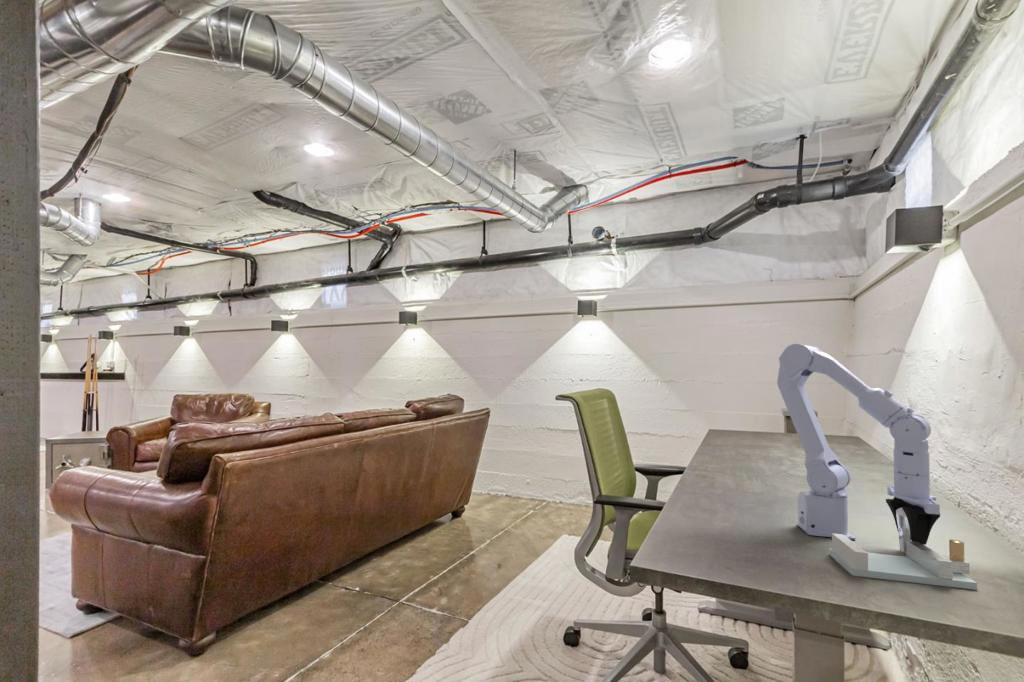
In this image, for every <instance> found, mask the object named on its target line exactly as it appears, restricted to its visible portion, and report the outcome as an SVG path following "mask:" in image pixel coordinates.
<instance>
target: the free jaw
mask: <svg viewBox="0 0 1024 682" xmlns="http://www.w3.org/2000/svg"><path fill="white" fill-rule="evenodd" d="M948 545H949V549H948V550H949V555H946V554H940V553H939V552H936V551H935V550H933V549H931V548H930V547H929V546H926V545H923V544H921V543H919V542H915V541H906V553H907V554H906V557H909V558H910V559H912V560H913V561H915V562H916V563H918V564H919V565H921V566H922V567H924V568H925V569H927V570H928V571H930V572H931V573H933V574H934V575H936V576H937V577H939V578H944V579H953V573H961V574H963V575H970V562H969V561H967V560H965V542H964V541H961V540H957V539H949V541H948Z"/></svg>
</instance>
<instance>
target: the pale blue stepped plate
mask: <svg viewBox="0 0 1024 682" xmlns="http://www.w3.org/2000/svg"><path fill="white" fill-rule="evenodd" d="M828 551H829V554H828V555H829V556H830V557H831V558H833V559H834V560H835V561H836V562H837V563H838V564H839V565H840V566H841V567H842V568H844V569H845V571H847V572H848V573H849V574H850V575H851V576H854V577H863V578H869V579H870V578H873V579H880V580H888V581H889V580H890V581H897V582H907V583H914V584H923V585H924V584H925V585H931V586H932V585H933V586H939V587H947V588H958V589H967V590H975V591H977V590H978V582H977V581H975V580H973V579H971V578H970V577H968V576H966V574H961V573H953V579H944V578H939V577H937V576H936V575H934V574H933V573H931V572H930V571H928V570H927V569H925V568H924V567H922V566H921V565H919V564H918V563H916V562H915V561H913V560H912V559H910V558H909V557H907V556H906V555H905V556H904V555H894V554H883V553H874V552H867V551H866V550H864V549H863V548H862V547H861V546H859V545H858V543H857V544H856V543H855V542H854V541H853V540H852V539H849V538H847V537H846V536H845V535H843V534H834V533H832V537H831V548H828Z"/></svg>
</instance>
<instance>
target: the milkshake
mask: <svg viewBox="0 0 1024 682" xmlns="http://www.w3.org/2000/svg"><path fill="white" fill-rule="evenodd" d="M896 517H897V524H898V530H897V533H898V532H899V533H898V542H899V552H900V553H903V554H905V555H907V553H906V541H912V540H911V535H910V527H909V523H908V519H907V516H906V514H905V512H904V510H903V509H902V507H901V508H899V509H897V510H896Z"/></svg>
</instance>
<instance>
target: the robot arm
mask: <svg viewBox="0 0 1024 682" xmlns="http://www.w3.org/2000/svg"><path fill="white" fill-rule="evenodd" d="M778 363H779V369H778V376H777V379H776V380H777V381H776V382H777V388H778V390H779V391H780V394H781V397H782V400H783V402H784V405H785V407H786V409H787V411H788V414H789V417H790V419H791V421H792V424H793V426H794V429H795V431H796V434H797V436H798V438H799V441H800V444H801V446H802V449H803V451H804V453H805V458H804V459H805V460H804V467H805V469H806V472H807V473H806V482H807V484H808V487H809V489H810V490H808V491H800V492H799V494H798V497H797V522H796V525H797V526H798V527H800V529H802V531H804V533H805V534H807V535H808V536H814V537H815V536H816V537H817V536H818V537H826V538H827V537H828V538H832V533H834V534H843V535H845V536H846V537H847V538H849V539H850V540H857V538H856V536H854V535H853V534H852V533H851V532H849V530H848V529H849V528H848V527H849V526H848V525H849V524H848V523H849V520H848V519H849V518H848V517H849V516H848V513H849V512H848V510H849V509H848V508H849V507H848V500H849V499H848V492H847V491H846V489H845V488H847V487H848V485H849V484H850V482H851V474H850V472H849V470H848V469H847V468H846V467H845V466H844V465H843V464H842V463H841V462H840V459H839V457H838V456H837V455H836V454H835V452H834V451H833V450H832V449H831V448H830V445H829V444H828V441H827V439H826V437H825V434H824V431H823V429H822V427H821V424H820V422H819V420H818V418H817V415H816V413H815V411H814V408H813V406H812V403H811V401H810V399H809V395H808V394H807V392H806V389H805V387H804V386H805V384H806V382H807V381H808V379H809V378H810V375H812V374H813V373H816V374H817V373H818V374H821V375H822V374H823V375H826V376H827V377H829V378H831V380H833V381H835V382H836V383H837V384H839V385H840V386H841V387H842V388H844V389H845V390H847V391H848V392H849V393H851V394H853V396H855V397H856V398H857V399H858V406H859V408H861V409H862V410H863V411H865V412H866V413H867V414H868V415H869V416H871V417H872V418H873V419H874V420H876V421H877V422H878V423H880V425H882V426H883V427H884V428H887V429H889V434H890V435H891V437H892V438H893V439H894V440H893V441H894V447H893V448H894V449H893V485H887V486H886V487H887V488H886V489H887V491H886V493H887V495H888V496H891V497H893V498H886V499H885V503H886V505H887V506H888V507H889V509H890V512H891V513H892V517H893V519H894V522H895V523H894V524H895V525H896V529H897V533H898V534H899V532H898V524H897V517H896V510H897V509H899V508H901V507H902V509H903V510H904V512H905V514H906V516H907V519H908V523H909V527H910V535H911V540H912V541H915V542H919V543H921V544H923V545H925V546H926V545H927V543H928V540H929V537H930V533H931V530H932V529H933V526H934V525H935V523H936V521H938V520H939V519H940V517H941V513H940V511H941V509H940V503H939V504H938V503H937V502H936V501H937V496H934V495H931V494H930V492H931V491H930V489H931V488H930V452H929V440H927V439H928V438H929V437H930V435H931V433H932V428H931V425H930V423H929V422H928V420H926V418H925V417H924V416H923V415H920V414H916V413H914V412H915V410H914V409H913V408H912V407H908V408H907V406H905V405H903V404H902V403H901V402H899V401H898V400H897V399H896V398H894V397H893V396H894V393H893V392H891V390H889V389H888V390H887V389H886V390H884V389H882V388H881V387H874V388H873V387H869V386H868V385H867V384H866V383H865V382H863V381H862V380H861V379H860V378H859V377H857V375H855V374H854V373H852V371H850V370H849V369H848V368H847V367H845V365H843V364H842V363H841V362H839V361H838V360H837V359H836V358H834V357H833V356H831V354H829V353H826V352H824V351H822V350H821V349H820V348H819V347H818V346H815V345H805V344H802V343H792V344H790V345H788V346H786V348H785V349H784V350H783V351H782V353H781V354H780V356H779V357H778Z"/></svg>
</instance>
